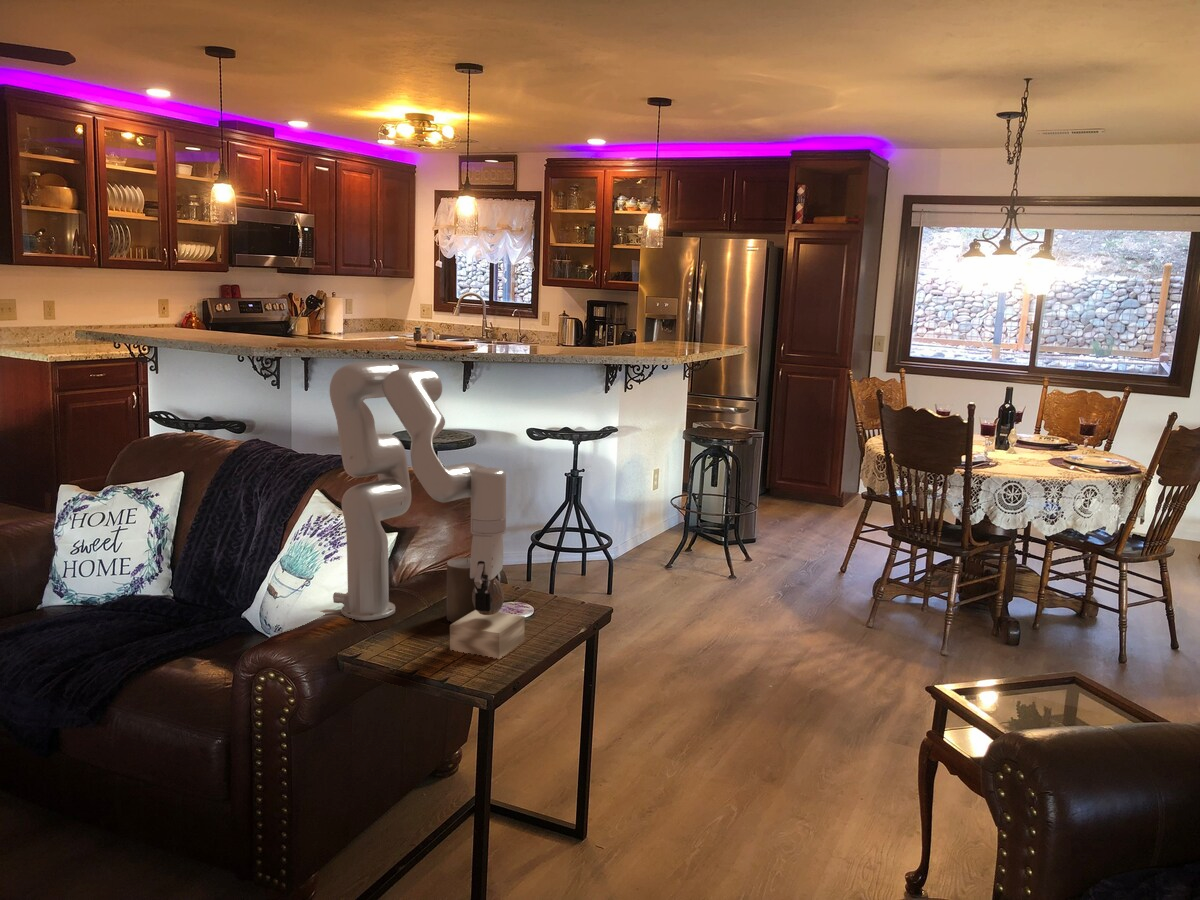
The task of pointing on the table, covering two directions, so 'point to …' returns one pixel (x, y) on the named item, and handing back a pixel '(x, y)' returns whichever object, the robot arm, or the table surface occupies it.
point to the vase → (492, 596)
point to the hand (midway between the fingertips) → (488, 604)
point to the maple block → (487, 634)
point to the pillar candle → (459, 589)
